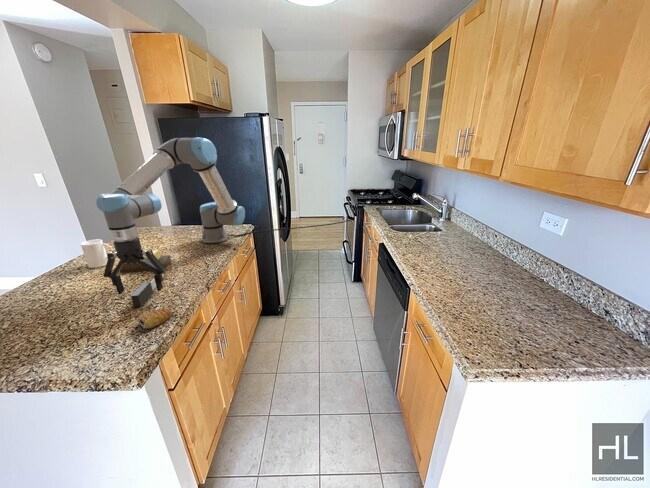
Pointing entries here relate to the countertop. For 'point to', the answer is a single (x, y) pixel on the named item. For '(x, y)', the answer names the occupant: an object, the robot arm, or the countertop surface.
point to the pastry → (154, 318)
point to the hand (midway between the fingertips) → (141, 290)
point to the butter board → (138, 267)
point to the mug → (95, 253)
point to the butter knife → (143, 293)
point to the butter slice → (156, 254)
